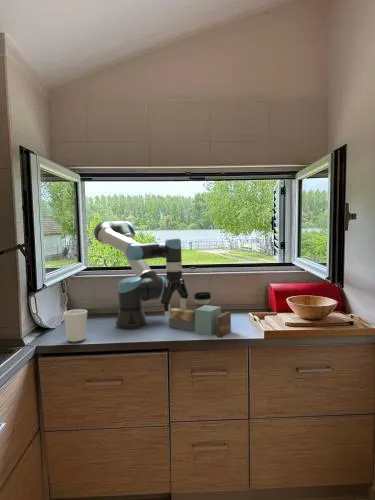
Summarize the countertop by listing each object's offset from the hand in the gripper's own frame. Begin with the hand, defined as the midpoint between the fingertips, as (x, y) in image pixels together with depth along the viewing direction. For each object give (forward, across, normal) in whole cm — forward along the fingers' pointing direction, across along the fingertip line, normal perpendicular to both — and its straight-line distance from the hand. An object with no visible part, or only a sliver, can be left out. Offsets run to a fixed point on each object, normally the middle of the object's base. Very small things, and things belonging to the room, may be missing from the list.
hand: (175, 314), depth 166 cm
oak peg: (+2, 0, -4) cm, 4 cm away
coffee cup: (+6, +13, -8) cm, 16 cm away
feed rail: (+6, 0, -4) cm, 7 cm away
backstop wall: (+6, 0, -26) cm, 26 cm away
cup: (+6, -37, +27) cm, 46 cm away
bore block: (+6, 0, -18) cm, 19 cm away
